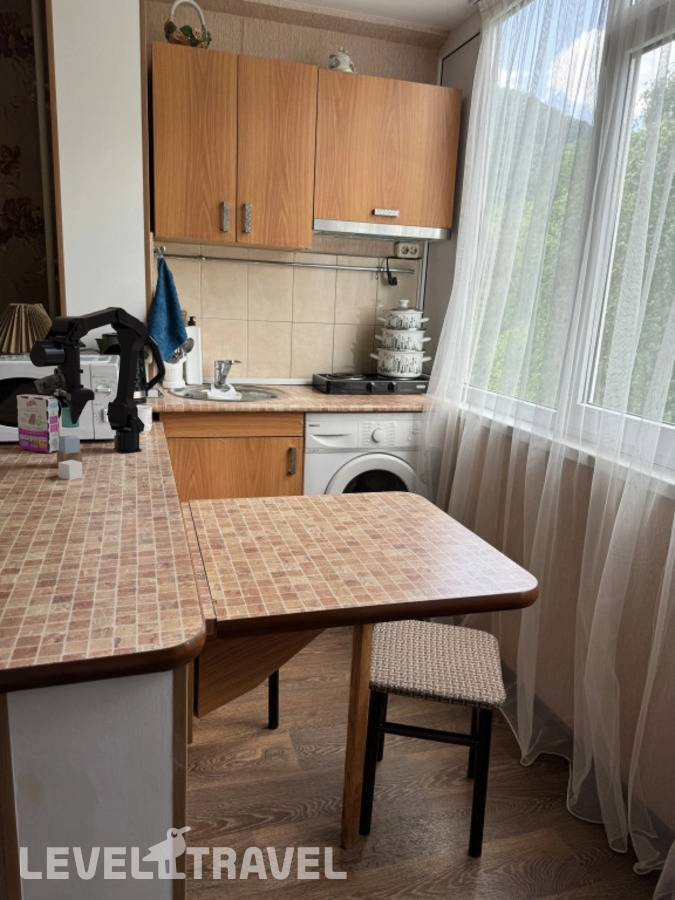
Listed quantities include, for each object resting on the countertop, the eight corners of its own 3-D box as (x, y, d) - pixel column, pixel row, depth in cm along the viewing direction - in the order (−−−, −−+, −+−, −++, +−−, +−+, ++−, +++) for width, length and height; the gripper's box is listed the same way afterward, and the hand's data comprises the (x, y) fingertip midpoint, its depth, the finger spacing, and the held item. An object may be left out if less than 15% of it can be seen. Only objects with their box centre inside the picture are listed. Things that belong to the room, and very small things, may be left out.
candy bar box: (61, 450, 192) (59, 396, 189) (49, 454, 188) (47, 398, 184) (30, 446, 196) (28, 393, 192) (18, 449, 191) (15, 394, 187)
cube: (71, 474, 169) (71, 459, 168) (82, 477, 167) (82, 462, 166) (58, 477, 165) (58, 462, 164) (69, 480, 163) (69, 465, 163)
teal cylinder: (75, 424, 178) (75, 406, 177) (81, 427, 175) (81, 408, 174) (59, 425, 175) (58, 407, 174) (65, 428, 172) (65, 409, 171)
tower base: (75, 462, 181) (75, 448, 180) (82, 466, 177) (82, 452, 176) (57, 464, 177) (56, 450, 177) (64, 468, 174) (63, 454, 173)
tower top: (74, 449, 179) (73, 435, 178) (80, 452, 176) (79, 437, 176) (59, 450, 176) (59, 436, 176) (65, 453, 174) (64, 439, 173)
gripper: (24, 361, 172) (27, 419, 176) (50, 369, 159) (53, 431, 162) (66, 361, 180) (68, 416, 183) (94, 368, 167) (96, 427, 170)
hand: (70, 422), depth 174 cm, fingers closed on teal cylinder, 4 cm apart
